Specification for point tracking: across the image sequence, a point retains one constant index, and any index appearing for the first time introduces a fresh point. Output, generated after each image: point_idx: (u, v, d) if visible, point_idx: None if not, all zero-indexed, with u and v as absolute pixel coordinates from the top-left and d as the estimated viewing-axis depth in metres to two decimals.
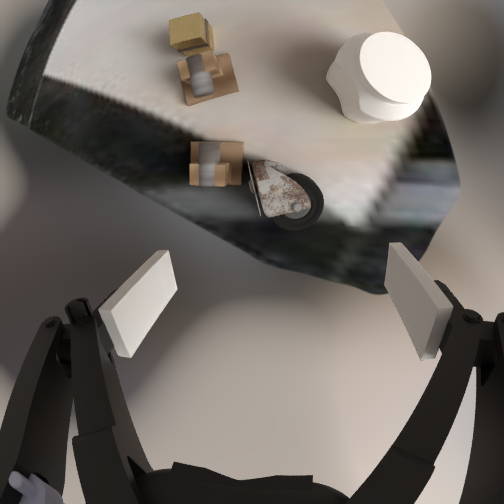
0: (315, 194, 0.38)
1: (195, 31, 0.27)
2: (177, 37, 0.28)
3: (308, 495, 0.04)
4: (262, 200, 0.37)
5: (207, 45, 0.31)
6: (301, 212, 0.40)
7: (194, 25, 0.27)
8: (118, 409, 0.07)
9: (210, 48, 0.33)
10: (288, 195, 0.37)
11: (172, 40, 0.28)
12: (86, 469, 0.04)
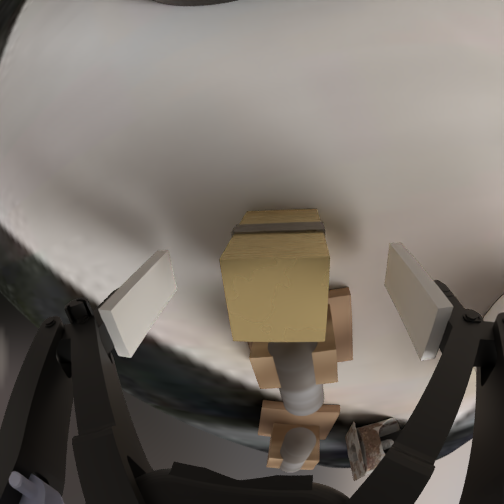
0: None
1: (312, 323, 0.12)
2: (255, 328, 0.12)
3: (308, 495, 0.04)
4: None
5: None
6: None
7: (310, 303, 0.12)
8: (118, 409, 0.07)
9: None
10: None
11: (239, 332, 0.13)
12: (86, 469, 0.04)
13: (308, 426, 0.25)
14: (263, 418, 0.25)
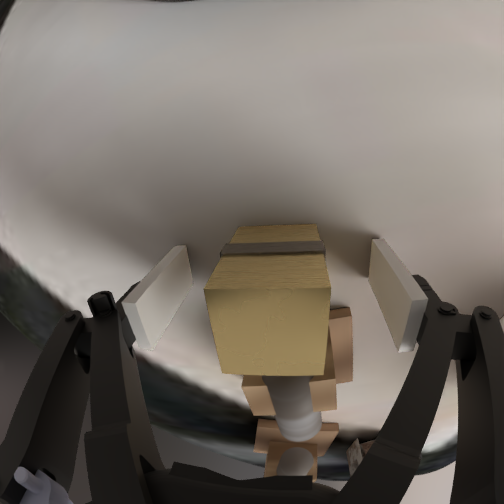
0: None
1: (309, 357, 0.10)
2: (245, 361, 0.11)
3: (308, 495, 0.04)
4: None
5: None
6: None
7: (308, 337, 0.10)
8: (135, 406, 0.07)
9: None
10: None
11: (229, 364, 0.11)
12: (96, 466, 0.04)
13: (305, 444, 0.23)
14: (259, 436, 0.23)
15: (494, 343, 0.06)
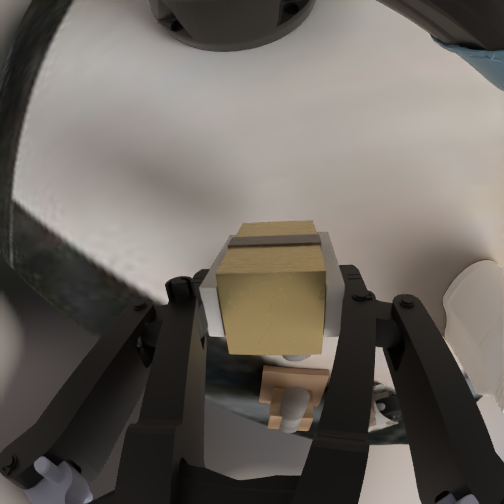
0: None
1: (308, 336, 0.12)
2: (251, 341, 0.12)
3: None
4: None
5: None
6: None
7: (307, 317, 0.11)
8: (192, 403, 0.07)
9: None
10: None
11: (235, 345, 0.13)
12: (130, 461, 0.04)
13: None
14: (264, 383, 0.31)
15: (422, 330, 0.08)
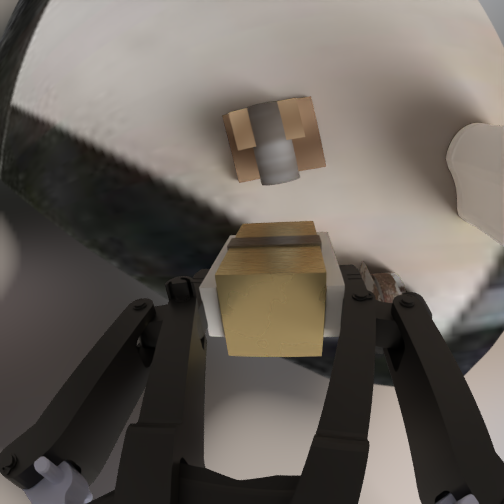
0: None
1: (308, 338, 0.12)
2: (251, 343, 0.12)
3: None
4: None
5: None
6: None
7: (307, 319, 0.11)
8: (192, 403, 0.07)
9: None
10: None
11: (235, 347, 0.12)
12: (130, 461, 0.04)
13: None
14: None
15: (422, 330, 0.08)
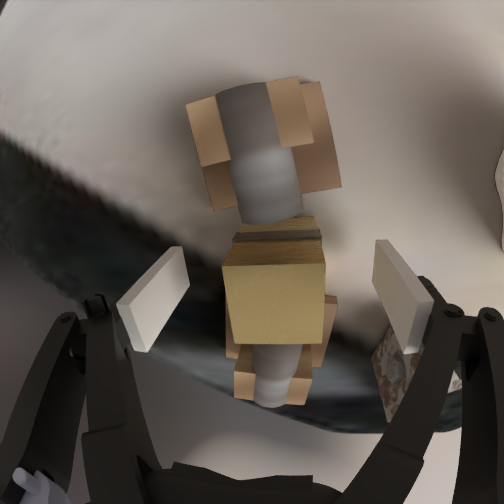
0: None
1: (309, 326, 0.13)
2: (255, 331, 0.13)
3: (308, 495, 0.04)
4: None
5: None
6: None
7: (308, 307, 0.12)
8: (131, 406, 0.07)
9: None
10: None
11: (240, 334, 0.13)
12: (93, 467, 0.04)
13: None
14: None
15: (499, 344, 0.06)
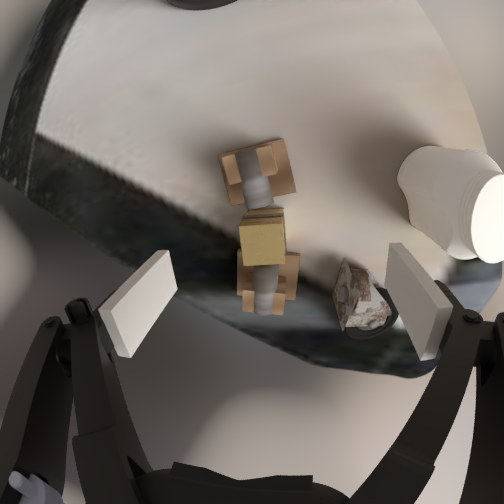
0: (393, 314, 0.34)
1: (278, 254, 0.29)
2: (253, 257, 0.29)
3: (308, 495, 0.04)
4: (350, 315, 0.32)
5: None
6: None
7: (276, 244, 0.29)
8: (118, 409, 0.07)
9: None
10: None
11: (246, 260, 0.30)
12: (86, 469, 0.04)
13: None
14: (239, 267, 0.37)
15: None
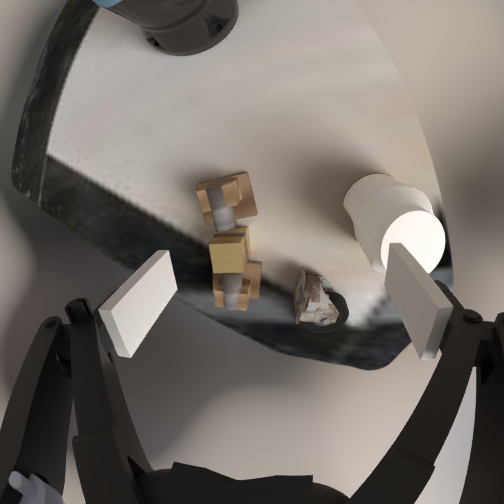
0: (343, 315, 0.44)
1: (238, 265, 0.38)
2: (220, 267, 0.39)
3: (308, 495, 0.04)
4: (303, 312, 0.42)
5: None
6: None
7: (236, 258, 0.38)
8: (118, 409, 0.07)
9: (248, 256, 0.44)
10: (325, 314, 0.42)
11: (215, 269, 0.39)
12: (86, 469, 0.04)
13: (243, 279, 0.46)
14: None
15: None
